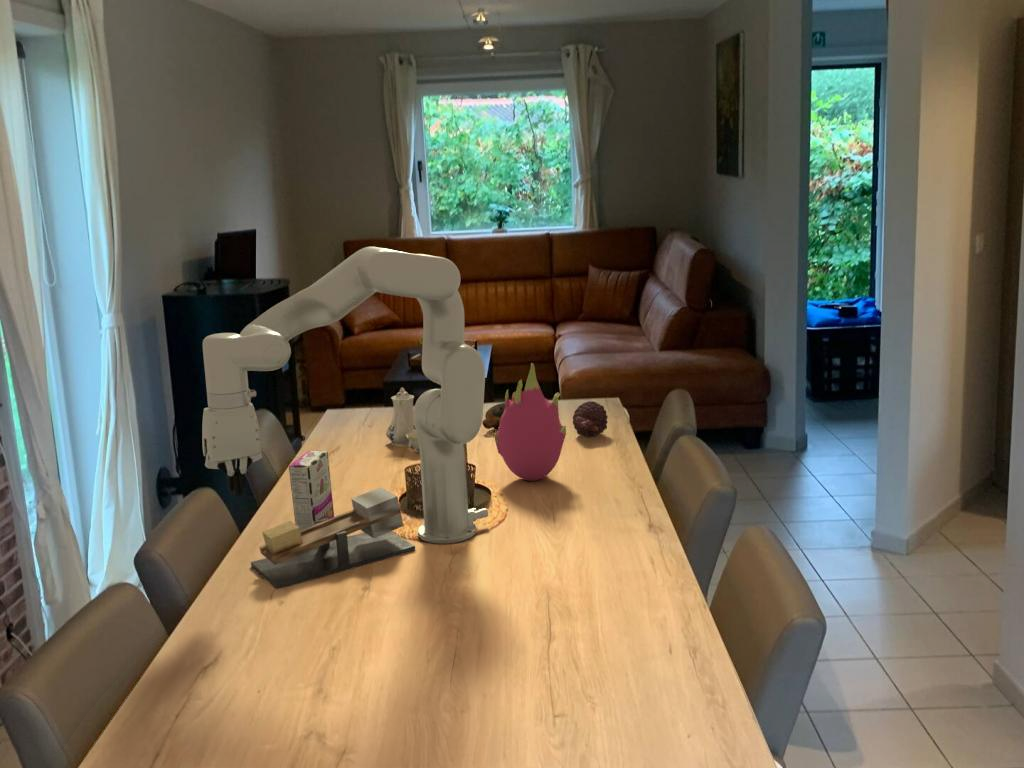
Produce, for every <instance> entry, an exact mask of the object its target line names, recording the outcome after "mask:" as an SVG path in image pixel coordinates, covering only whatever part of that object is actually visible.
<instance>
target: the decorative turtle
mask: <svg viewBox="0 0 1024 768" xmlns="http://www.w3.org/2000/svg"><path fill="white" fill-rule="evenodd" d="M504 410H505V402H503V403H502V402H501V403H498V404H495V405H493V406H491V407H490V408H488V410H487V411H486V412H485V417H484V418H485V419H482V423H481V425H483V427H484V428H485V429H488V430H491V429H495V430H497V429H499V424H500V419H501V416H502V414H503V412H504Z"/></svg>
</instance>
